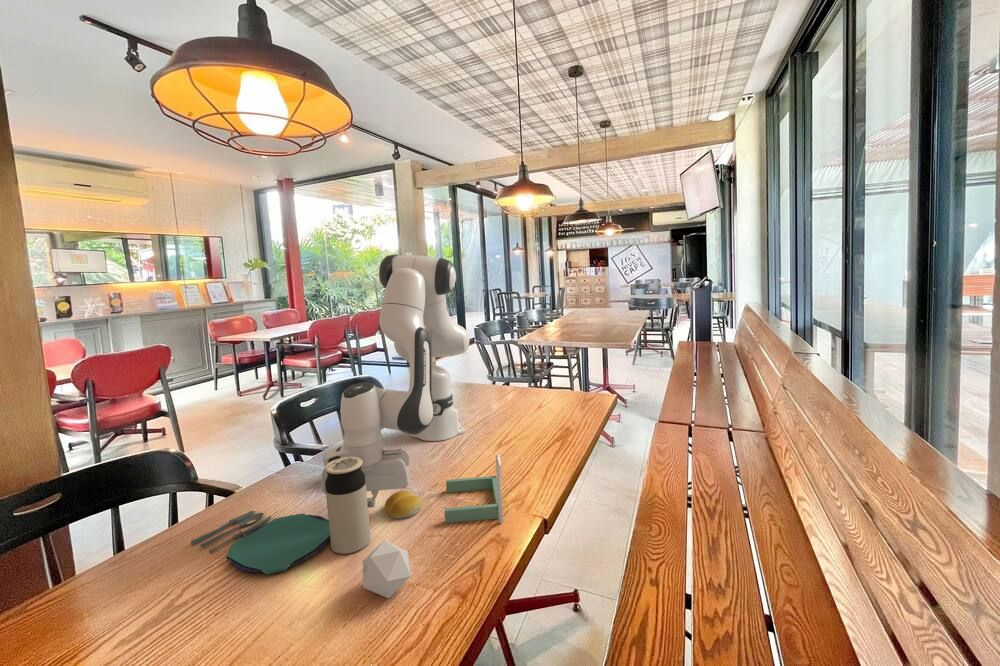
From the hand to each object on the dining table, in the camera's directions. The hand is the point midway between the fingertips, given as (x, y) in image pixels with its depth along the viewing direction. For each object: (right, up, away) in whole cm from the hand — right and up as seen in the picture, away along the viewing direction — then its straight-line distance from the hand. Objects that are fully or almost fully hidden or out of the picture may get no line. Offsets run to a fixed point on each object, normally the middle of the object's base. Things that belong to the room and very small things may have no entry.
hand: (368, 506), depth 106 cm
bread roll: (+8, -2, +1) cm, 8 cm away
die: (+11, -5, -26) cm, 28 cm away
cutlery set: (-19, -4, -10) cm, 22 cm away
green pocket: (+25, -1, -1) cm, 25 cm away
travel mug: (0, -3, -12) cm, 12 cm away
